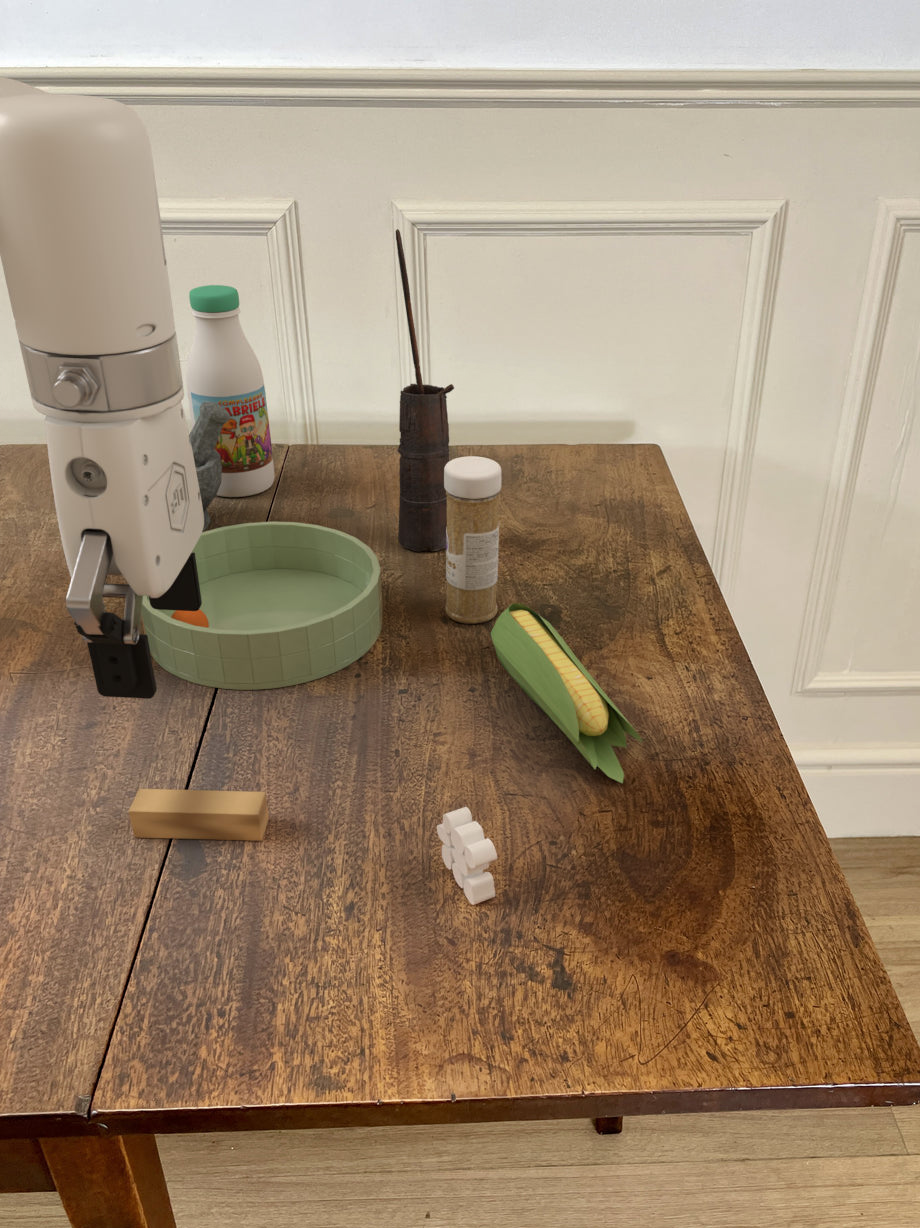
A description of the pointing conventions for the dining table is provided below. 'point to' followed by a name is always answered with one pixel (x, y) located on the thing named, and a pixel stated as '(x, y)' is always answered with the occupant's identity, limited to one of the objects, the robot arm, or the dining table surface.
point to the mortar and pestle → (208, 452)
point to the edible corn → (561, 686)
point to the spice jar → (472, 538)
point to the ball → (191, 617)
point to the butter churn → (421, 450)
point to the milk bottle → (230, 390)
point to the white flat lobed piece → (467, 854)
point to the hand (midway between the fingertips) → (154, 648)
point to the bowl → (272, 607)
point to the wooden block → (199, 814)
